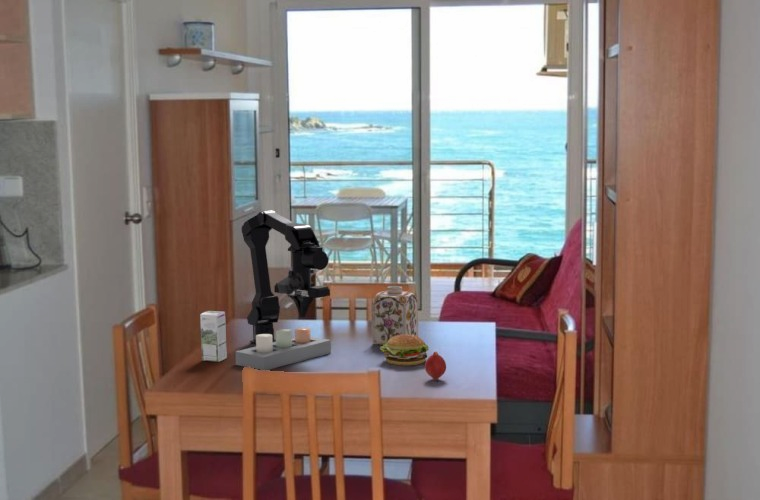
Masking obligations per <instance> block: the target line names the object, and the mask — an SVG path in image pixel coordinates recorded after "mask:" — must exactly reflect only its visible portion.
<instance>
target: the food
mask: <svg viewBox="0 0 760 500" xmlns="http://www.w3.org/2000/svg"><path fill="white" fill-rule="evenodd" d="M429 348H430V347H429V346H428V344H426V343H425V342H424V340H423V339H422V338H421V337H420V336H419V335H418V336H414V335H409V334H404V335H397V336H394V337H392V338H390V339H389V340H388V342H387V343H386V344H385V343H383V345H380V346H379V350H381V352H383V353H384V354H383V356H384V357H385V360H386V363H388V364H390V365H395V366H400V367H401V366H403V367H404V366H405V367H407V366H409V367H410V366H417V365H420V364H423V363H425V362H426V360H427V359H428V355H427V354H428V351H429V350H430V349H429Z"/></svg>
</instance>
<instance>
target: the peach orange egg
mask: <svg viewBox="0 0 760 500" xmlns="http://www.w3.org/2000/svg"><path fill="white" fill-rule="evenodd" d="M311 335H312V334H311V328H310V327H297V328H294V337H295V343H300V344H305V343H309V342H311V337H312V336H311Z"/></svg>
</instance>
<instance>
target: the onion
mask: <svg viewBox="0 0 760 500" xmlns="http://www.w3.org/2000/svg"><path fill="white" fill-rule="evenodd" d="M424 369H425V371H426V372H425V373H426V374H427V375H428V376H430V378H432V379H433V380H434V381H436V380H437V381H438V380H439V379H440V378H441V377H443V375H444V374H445V372H446V370H447V364H446V360H445V359H444V358H443V356H441V355H440V354H439V353H438V351H433V354H431V355H429V356H428V357H427V358H426V360H425V362H424Z"/></svg>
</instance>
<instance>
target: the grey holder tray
mask: <svg viewBox="0 0 760 500" xmlns="http://www.w3.org/2000/svg"><path fill="white" fill-rule="evenodd" d="M331 347H332V344H331V339H325V338H320V337H315V336H311V342H309V343H305V344H300V343H295V336H294V337H293V336H292V347H289V348H285V349H282V348H277V347H276V342H273V352H269V353H265V354H263V353H258V352H256V346H253V347H248V348H244V349H240V350H236V351H235V366H240V367H244V368H247V367H246V366H250V367H253V368H256V369H255V370H258V369H262V370H265V371H269V370H272V369H276V368H280V367H284V366H288V365H290V364H294V363H298V362H304V361H306V360H310V359H314V358H318V357H321V356H325V355H328V354H331V353H332V348H331ZM253 368H252V369H253ZM262 370H261V371H262Z"/></svg>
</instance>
